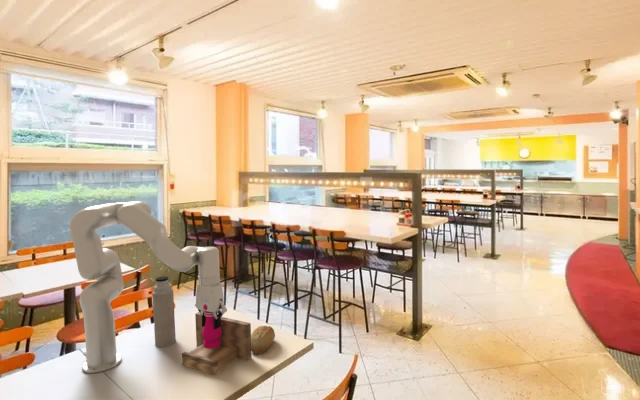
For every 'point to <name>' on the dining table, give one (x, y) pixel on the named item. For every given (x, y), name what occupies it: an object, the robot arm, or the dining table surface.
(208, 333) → the pepper mill
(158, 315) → the thermos bottle
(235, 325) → the wall shelf
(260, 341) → the bread roll
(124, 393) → the dining table surface
